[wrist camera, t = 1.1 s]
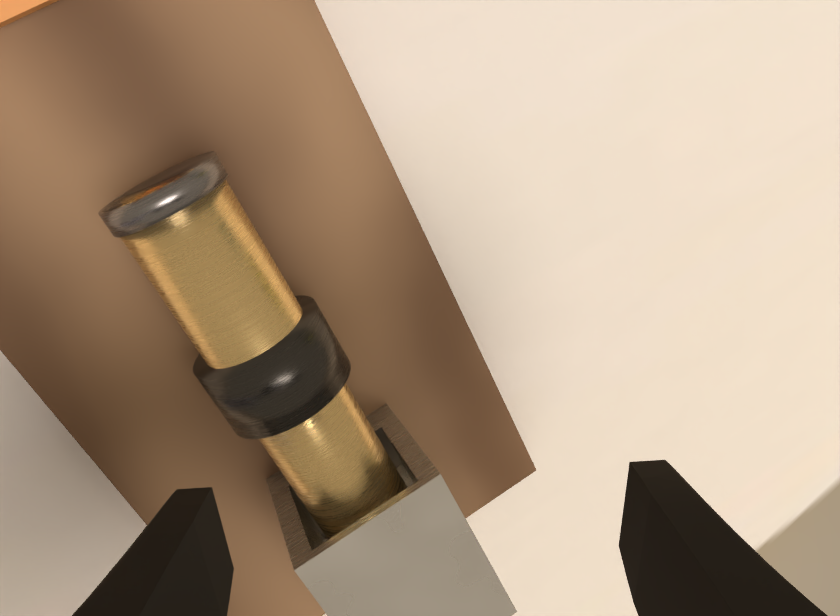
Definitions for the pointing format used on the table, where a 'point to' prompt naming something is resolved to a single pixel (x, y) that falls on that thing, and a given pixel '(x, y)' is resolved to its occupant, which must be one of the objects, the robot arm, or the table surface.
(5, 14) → the socket block
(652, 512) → the robot arm
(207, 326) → the inner tube
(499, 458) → the base board
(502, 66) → the table surface
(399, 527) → the outer sleeve
